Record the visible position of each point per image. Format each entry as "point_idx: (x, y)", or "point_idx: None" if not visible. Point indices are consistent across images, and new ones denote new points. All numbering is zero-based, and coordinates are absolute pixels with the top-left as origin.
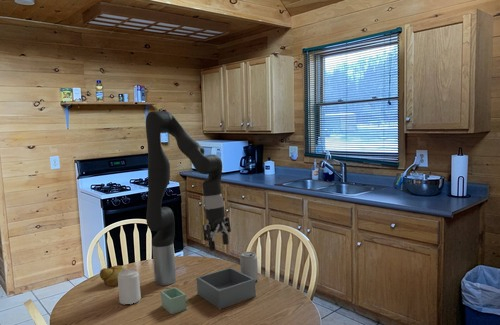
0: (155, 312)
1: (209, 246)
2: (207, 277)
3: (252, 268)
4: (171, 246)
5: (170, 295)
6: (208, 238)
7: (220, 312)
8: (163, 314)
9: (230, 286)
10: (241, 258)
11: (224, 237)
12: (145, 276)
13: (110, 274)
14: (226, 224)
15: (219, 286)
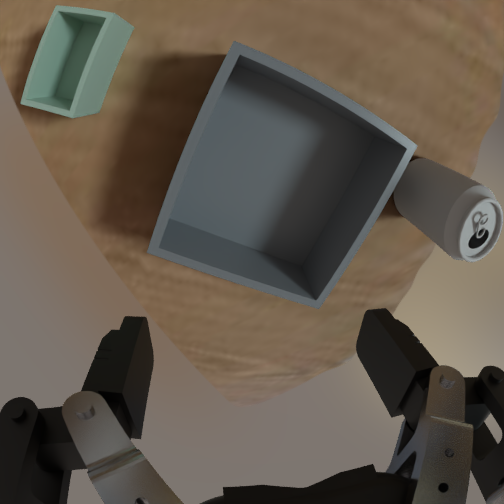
0: None
1: (98, 356)
2: (286, 77)
3: (427, 235)
4: None
5: (98, 20)
6: (35, 463)
7: (144, 233)
8: None
9: (212, 267)
10: (458, 204)
11: (392, 378)
12: None
13: None
14: (493, 476)
15: (322, 110)
